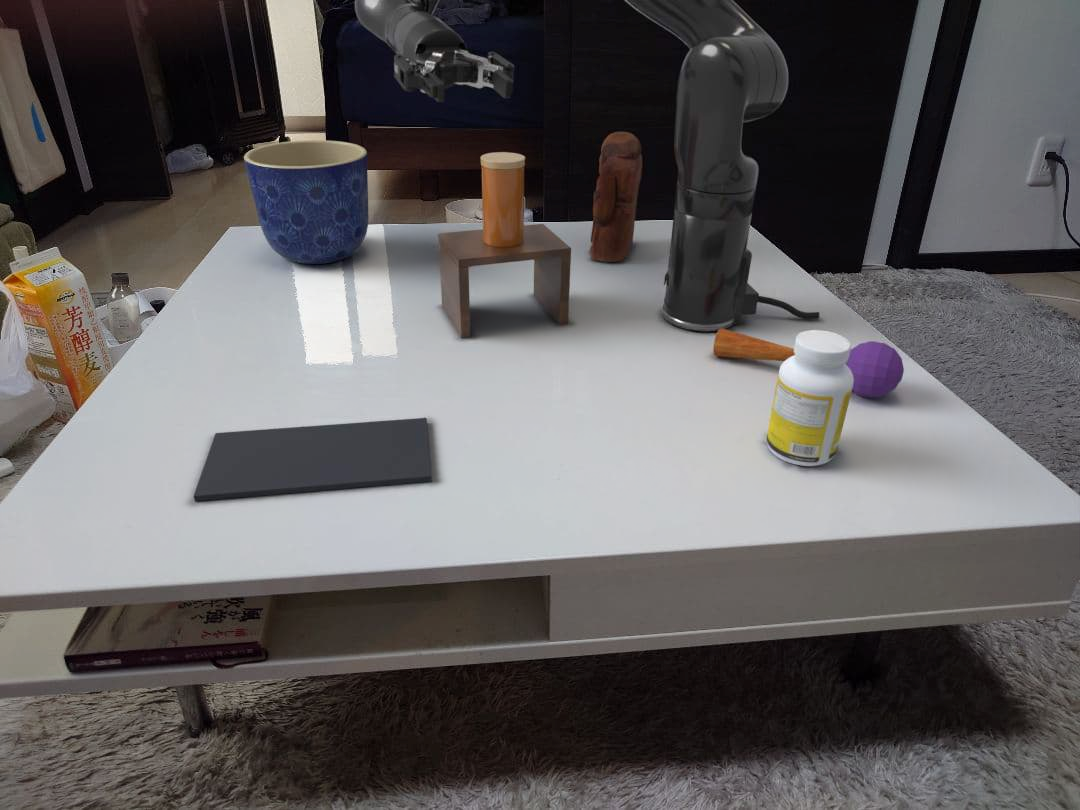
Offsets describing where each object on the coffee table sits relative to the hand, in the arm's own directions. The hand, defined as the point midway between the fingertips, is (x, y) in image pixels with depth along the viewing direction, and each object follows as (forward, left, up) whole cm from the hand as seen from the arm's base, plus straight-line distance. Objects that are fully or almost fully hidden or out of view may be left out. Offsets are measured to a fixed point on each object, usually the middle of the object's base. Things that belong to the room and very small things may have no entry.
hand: (475, 91), depth 91 cm
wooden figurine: (-22, -16, -26) cm, 38 cm away
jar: (-2, +6, -16) cm, 18 cm away
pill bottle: (-26, +41, -26) cm, 56 cm away
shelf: (-2, +6, -26) cm, 27 cm away
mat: (+19, +36, -26) cm, 48 cm away
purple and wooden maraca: (-33, +27, -26) cm, 51 cm away
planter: (+23, -20, -26) cm, 40 cm away
